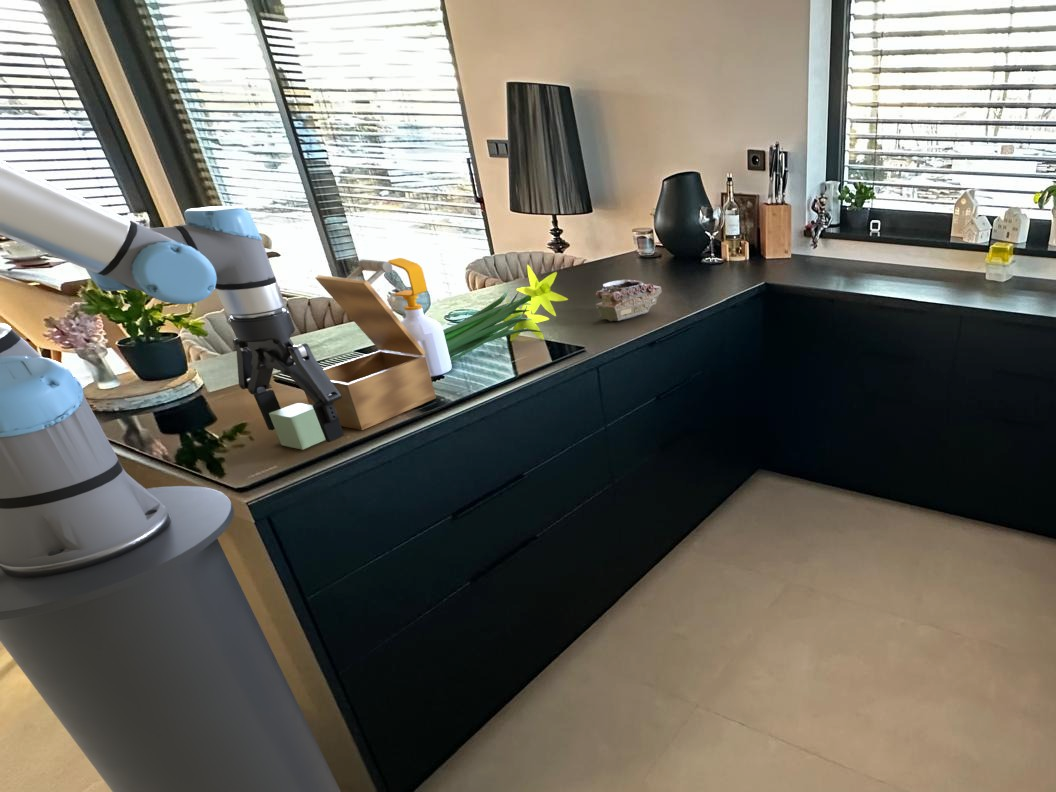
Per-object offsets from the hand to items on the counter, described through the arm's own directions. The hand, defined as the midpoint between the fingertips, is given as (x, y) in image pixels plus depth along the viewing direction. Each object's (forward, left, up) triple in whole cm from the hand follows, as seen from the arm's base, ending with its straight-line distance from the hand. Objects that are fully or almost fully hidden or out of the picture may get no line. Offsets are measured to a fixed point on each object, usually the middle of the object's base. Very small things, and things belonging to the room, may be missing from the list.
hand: (306, 432), depth 108 cm
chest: (+15, +1, -2) cm, 15 cm away
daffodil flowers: (+54, +6, -2) cm, 54 cm away
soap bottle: (+35, +9, -2) cm, 36 cm away
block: (0, 0, -2) cm, 2 cm away
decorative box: (+95, -5, -2) cm, 95 cm away
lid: (+19, +1, +15) cm, 24 cm away
